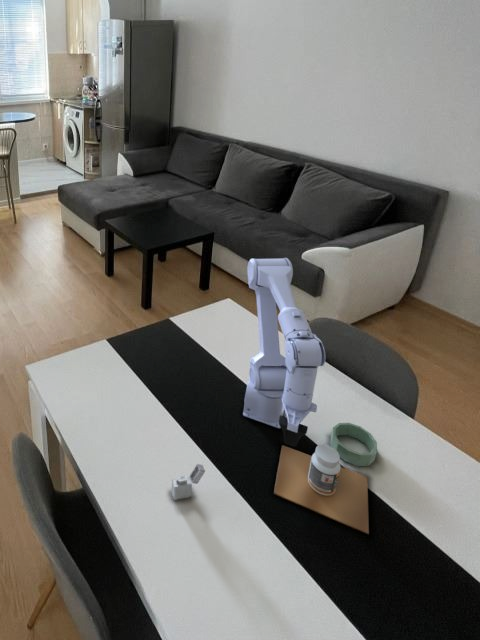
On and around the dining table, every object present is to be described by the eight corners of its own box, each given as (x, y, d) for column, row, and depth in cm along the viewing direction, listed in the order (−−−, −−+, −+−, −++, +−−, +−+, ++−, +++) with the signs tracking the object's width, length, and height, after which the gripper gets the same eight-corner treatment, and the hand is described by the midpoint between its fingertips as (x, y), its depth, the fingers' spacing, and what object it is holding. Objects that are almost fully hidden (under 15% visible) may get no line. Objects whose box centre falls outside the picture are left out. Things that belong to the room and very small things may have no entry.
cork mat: (273, 494, 96) (273, 492, 96) (281, 446, 107) (282, 444, 107) (368, 534, 87) (368, 533, 87) (366, 477, 98) (367, 476, 98)
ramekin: (329, 455, 104) (332, 445, 103) (331, 427, 111) (333, 417, 110) (374, 472, 100) (377, 461, 98) (373, 442, 107) (376, 431, 105)
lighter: (174, 500, 96) (174, 475, 93) (171, 492, 98) (172, 468, 95) (203, 494, 97) (205, 469, 94) (200, 487, 99) (202, 462, 96)
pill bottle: (339, 498, 94) (347, 467, 90) (311, 494, 95) (317, 463, 92) (330, 474, 99) (337, 443, 96) (304, 471, 100) (309, 440, 97)
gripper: (317, 415, 87) (308, 463, 91) (321, 370, 98) (313, 415, 103) (279, 403, 90) (273, 450, 95) (288, 361, 102) (281, 405, 106)
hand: (292, 431), depth 99 cm, fingers open, 7 cm apart
